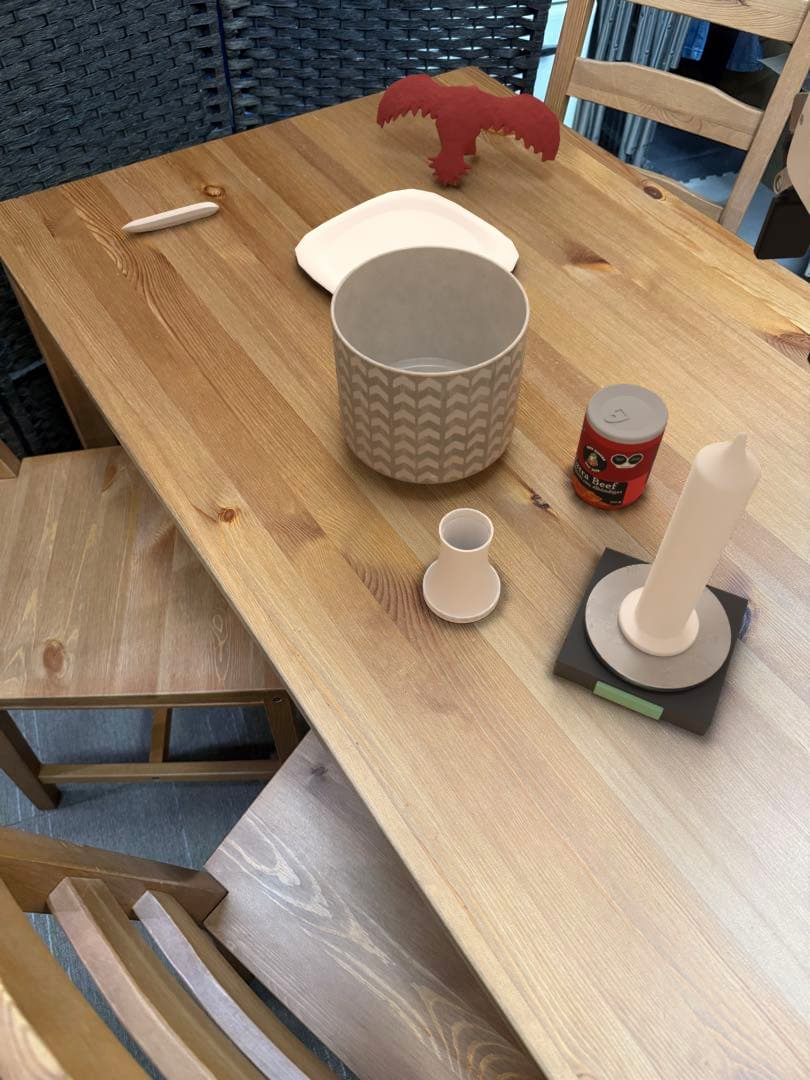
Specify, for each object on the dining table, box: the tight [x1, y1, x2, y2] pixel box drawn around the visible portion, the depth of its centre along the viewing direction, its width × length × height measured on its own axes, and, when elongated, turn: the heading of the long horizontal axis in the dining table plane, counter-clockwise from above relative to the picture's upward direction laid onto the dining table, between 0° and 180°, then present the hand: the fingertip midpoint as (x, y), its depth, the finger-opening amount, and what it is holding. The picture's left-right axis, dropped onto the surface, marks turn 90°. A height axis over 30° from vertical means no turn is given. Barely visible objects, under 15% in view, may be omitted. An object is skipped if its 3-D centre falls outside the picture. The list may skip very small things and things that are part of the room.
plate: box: [294, 188, 520, 296], centre depth 114 cm, size 25×25×2 cm
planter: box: [329, 245, 531, 485], centre depth 89 cm, size 19×19×18 cm
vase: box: [422, 507, 501, 624], centre depth 80 cm, size 8×8×10 cm
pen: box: [120, 201, 220, 233], centre depth 119 cm, size 2×14×2 cm, turn 116°
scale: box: [552, 546, 749, 737], centre depth 79 cm, size 14×14×4 cm
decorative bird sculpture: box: [375, 73, 561, 188], centre depth 125 cm, size 28×9×15 cm
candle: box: [618, 430, 762, 656], centre depth 67 cm, size 7×7×25 cm
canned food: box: [571, 383, 669, 510], centre depth 87 cm, size 8×8×11 cm
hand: (804, 306), depth 51 cm, fingers open, 9 cm apart
